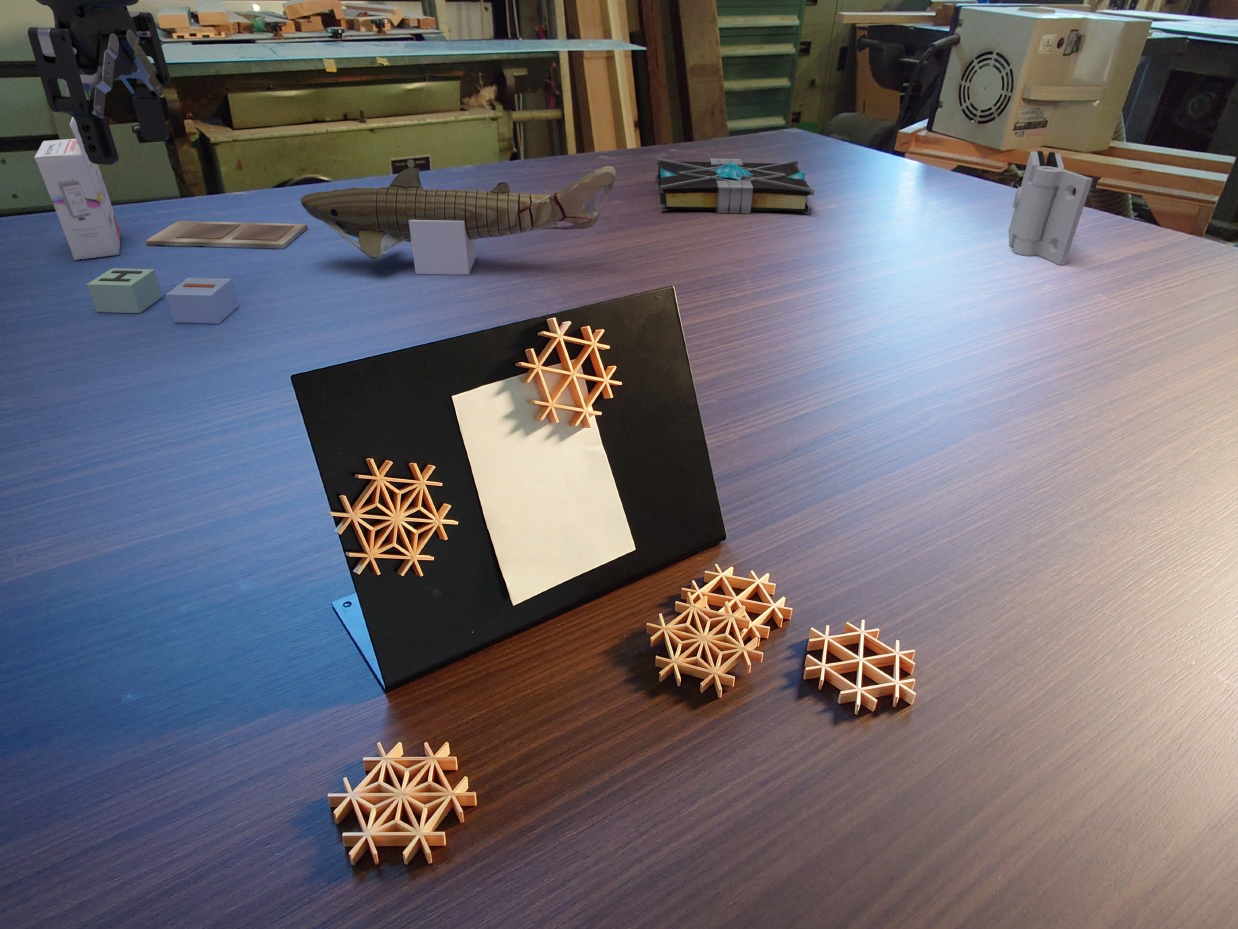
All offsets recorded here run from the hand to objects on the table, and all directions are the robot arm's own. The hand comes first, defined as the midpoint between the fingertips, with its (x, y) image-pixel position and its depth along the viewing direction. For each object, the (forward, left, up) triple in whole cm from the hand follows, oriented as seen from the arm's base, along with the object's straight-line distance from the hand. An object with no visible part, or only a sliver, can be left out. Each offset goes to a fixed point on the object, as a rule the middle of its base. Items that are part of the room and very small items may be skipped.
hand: (132, 151), depth 72 cm
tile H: (-7, +3, -16) cm, 17 cm away
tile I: (+2, +1, -16) cm, 16 cm away
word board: (-6, +25, -16) cm, 30 cm away
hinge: (+95, +29, -16) cm, 101 cm away
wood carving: (+25, +17, -16) cm, 34 cm away
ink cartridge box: (-20, +19, -16) cm, 32 cm away
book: (+58, +48, -16) cm, 77 cm away
